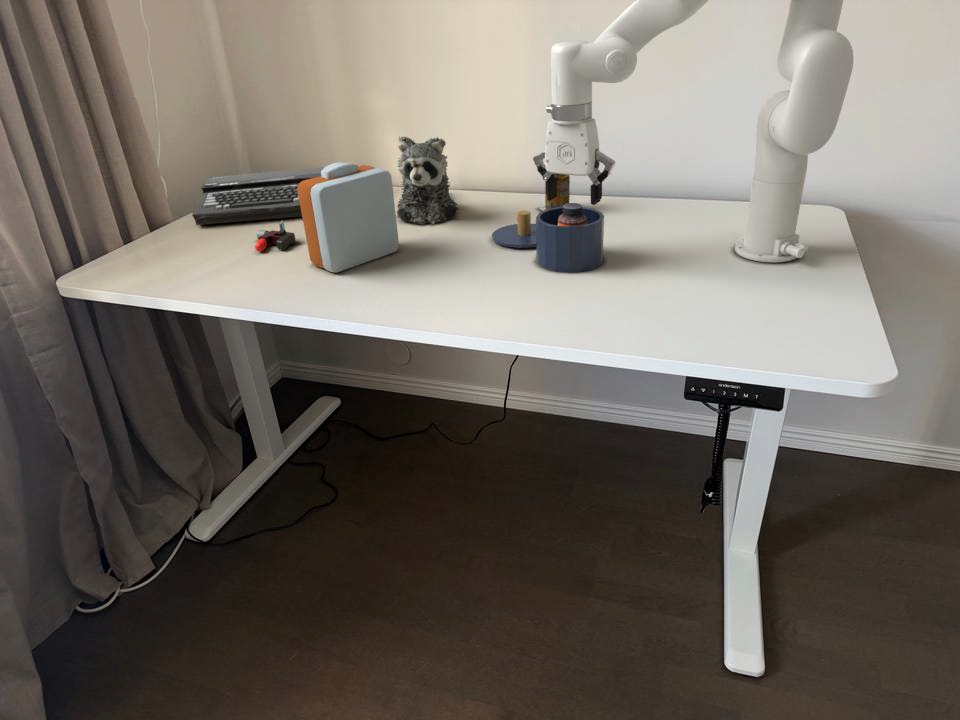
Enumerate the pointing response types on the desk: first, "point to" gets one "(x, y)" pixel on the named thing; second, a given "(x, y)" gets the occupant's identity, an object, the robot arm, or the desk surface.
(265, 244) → the toy gun
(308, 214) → the alarm clock
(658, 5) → the robot arm
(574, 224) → the supplement bottle
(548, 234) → the tin
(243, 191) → the vintage computer
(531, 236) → the tin lid
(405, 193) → the raccoon plush
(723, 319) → the desk surface
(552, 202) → the condiment
